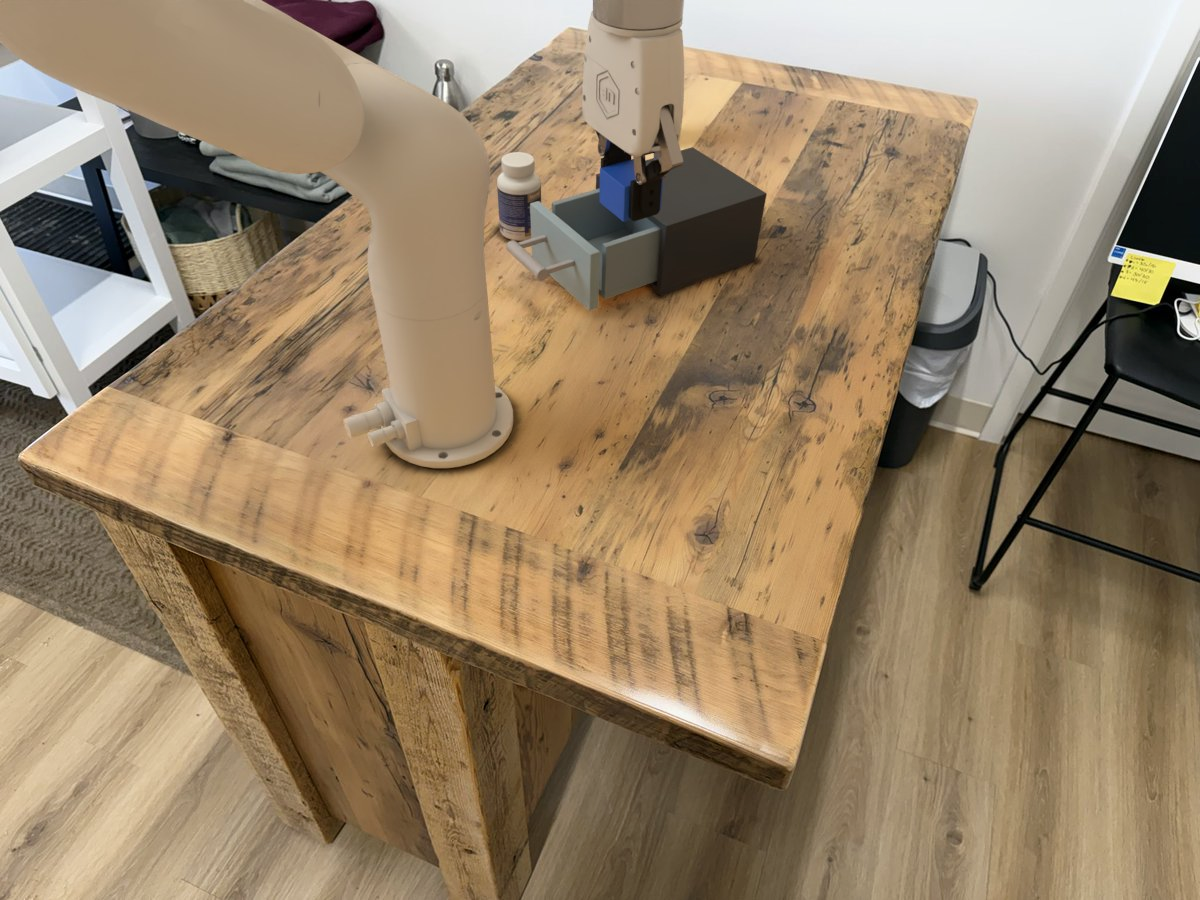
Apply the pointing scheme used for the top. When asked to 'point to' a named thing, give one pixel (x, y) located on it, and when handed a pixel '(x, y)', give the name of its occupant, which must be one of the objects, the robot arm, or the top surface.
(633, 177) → the matte blue toy brick
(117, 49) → the robot arm
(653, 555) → the top surface
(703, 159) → the small storage cabinet
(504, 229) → the pill bottle
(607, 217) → the drawer
